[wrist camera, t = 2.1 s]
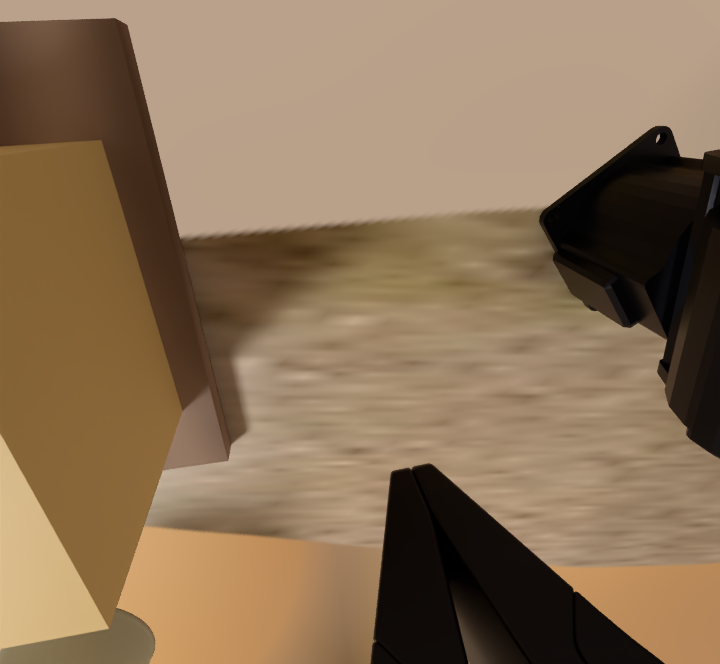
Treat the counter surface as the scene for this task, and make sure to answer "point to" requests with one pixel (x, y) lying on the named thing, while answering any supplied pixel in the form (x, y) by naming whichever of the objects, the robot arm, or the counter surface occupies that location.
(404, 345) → the counter surface
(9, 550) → the t block
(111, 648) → the can
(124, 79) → the walnut board
